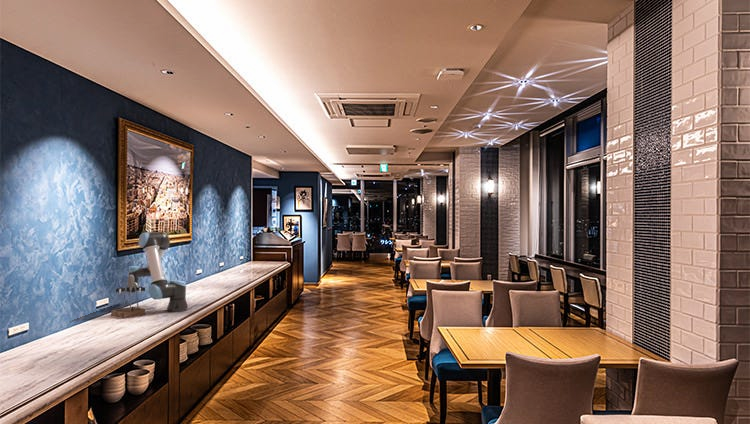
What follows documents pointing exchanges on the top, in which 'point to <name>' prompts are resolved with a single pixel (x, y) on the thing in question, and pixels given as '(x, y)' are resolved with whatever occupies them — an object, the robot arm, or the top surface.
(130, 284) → the citrus juicer
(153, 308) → the slate tile
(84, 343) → the top surface
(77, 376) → the top surface
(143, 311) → the holder frame
